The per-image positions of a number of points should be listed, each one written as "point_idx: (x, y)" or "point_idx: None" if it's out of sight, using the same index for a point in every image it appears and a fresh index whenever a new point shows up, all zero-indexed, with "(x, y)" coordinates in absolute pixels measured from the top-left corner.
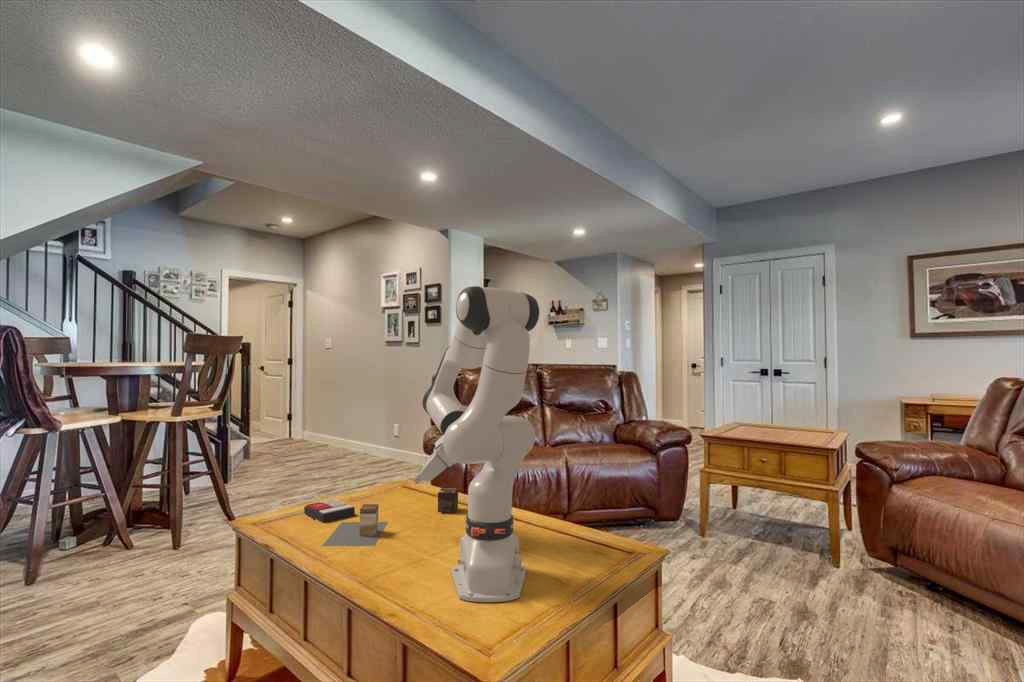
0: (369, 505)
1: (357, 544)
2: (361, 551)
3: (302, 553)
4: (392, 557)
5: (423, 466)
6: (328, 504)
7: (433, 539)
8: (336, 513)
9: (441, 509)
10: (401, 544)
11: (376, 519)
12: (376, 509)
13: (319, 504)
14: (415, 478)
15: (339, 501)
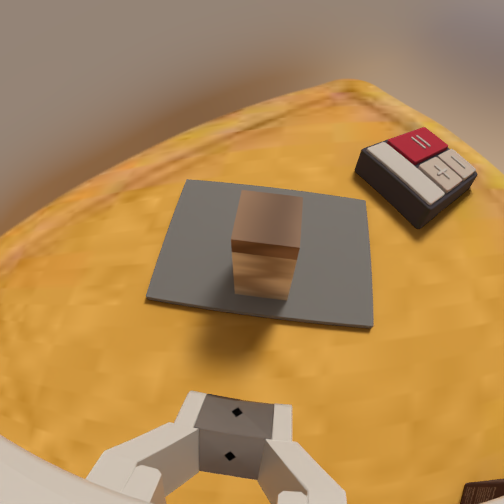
0: (281, 216)
1: (169, 251)
2: (132, 267)
3: (168, 159)
4: (65, 346)
5: (61, 497)
6: (434, 157)
7: (179, 492)
8: (386, 175)
9: (470, 495)
10: (153, 381)
11: (257, 272)
12: (255, 248)
13: (426, 142)
14: (183, 407)
15: (462, 177)
